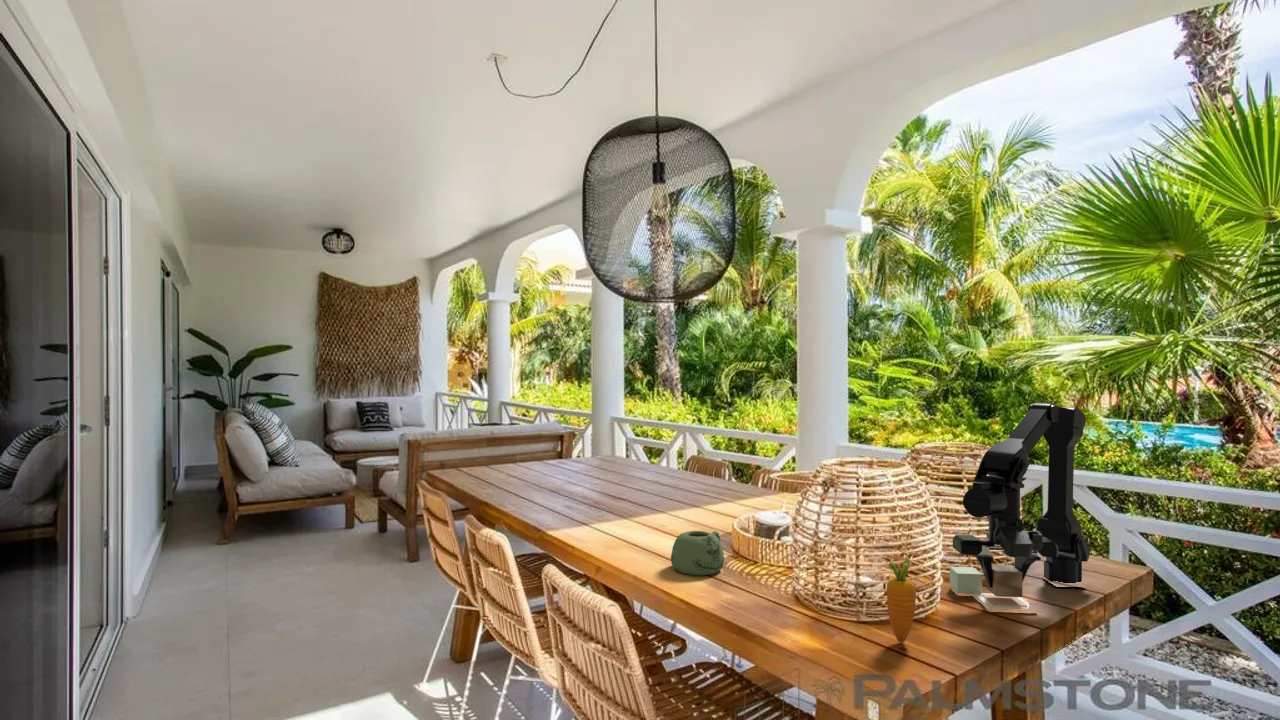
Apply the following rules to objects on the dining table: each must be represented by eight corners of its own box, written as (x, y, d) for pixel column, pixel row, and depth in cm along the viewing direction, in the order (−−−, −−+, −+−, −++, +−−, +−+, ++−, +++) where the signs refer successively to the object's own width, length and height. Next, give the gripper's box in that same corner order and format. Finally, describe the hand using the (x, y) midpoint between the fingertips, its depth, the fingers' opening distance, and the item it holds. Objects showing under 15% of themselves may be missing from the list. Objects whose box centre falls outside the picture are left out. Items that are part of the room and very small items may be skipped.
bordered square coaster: (1017, 599, 150) (1017, 593, 150) (1037, 614, 141) (1037, 608, 141) (973, 597, 150) (973, 592, 150) (989, 612, 141) (989, 606, 141)
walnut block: (1011, 589, 148) (1011, 565, 148) (1022, 597, 143) (1022, 572, 143) (986, 588, 148) (986, 564, 148) (996, 596, 143) (996, 571, 143)
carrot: (889, 648, 124) (889, 562, 124) (884, 637, 129) (884, 554, 129) (919, 649, 123) (919, 563, 123) (912, 638, 128) (912, 555, 128)
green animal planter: (704, 581, 161) (704, 543, 161) (659, 570, 170) (659, 534, 170) (741, 565, 174) (741, 530, 174) (697, 556, 182) (697, 522, 182)
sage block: (973, 590, 156) (973, 567, 156) (982, 597, 151) (982, 574, 151) (949, 589, 156) (949, 566, 156) (957, 597, 151) (957, 573, 151)
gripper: (970, 519, 138) (970, 599, 138) (1072, 521, 137) (1072, 602, 137) (951, 507, 149) (951, 581, 150) (1045, 509, 148) (1045, 584, 148)
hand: (1004, 587), depth 146 cm, fingers closed on walnut block, 5 cm apart
